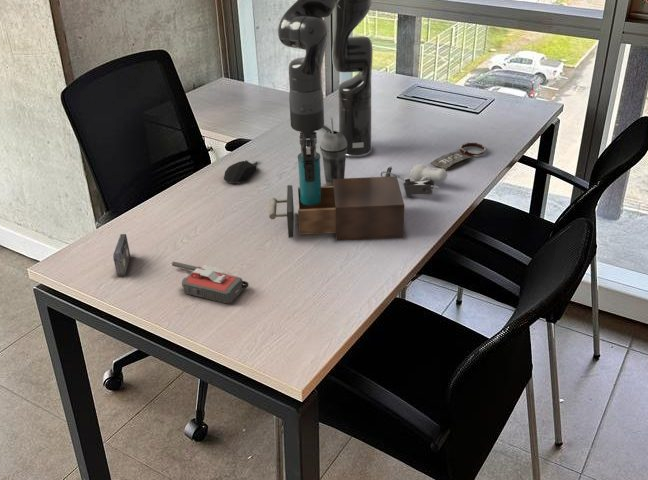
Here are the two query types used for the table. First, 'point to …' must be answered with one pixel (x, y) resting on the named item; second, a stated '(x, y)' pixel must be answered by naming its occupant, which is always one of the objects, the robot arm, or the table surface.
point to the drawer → (308, 213)
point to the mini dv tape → (121, 255)
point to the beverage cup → (333, 155)
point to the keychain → (458, 156)
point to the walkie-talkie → (211, 283)
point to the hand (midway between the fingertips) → (309, 175)
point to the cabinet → (368, 208)
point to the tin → (310, 183)
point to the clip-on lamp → (421, 179)
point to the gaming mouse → (239, 172)
